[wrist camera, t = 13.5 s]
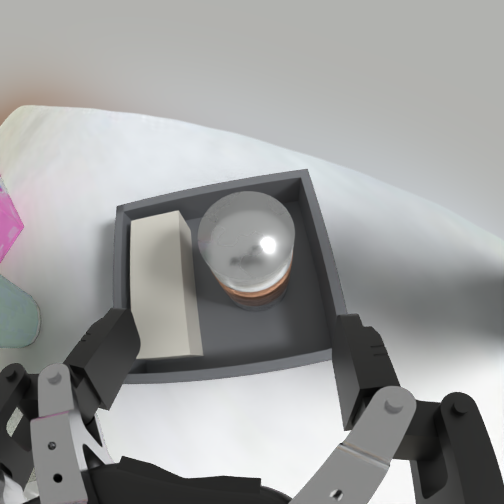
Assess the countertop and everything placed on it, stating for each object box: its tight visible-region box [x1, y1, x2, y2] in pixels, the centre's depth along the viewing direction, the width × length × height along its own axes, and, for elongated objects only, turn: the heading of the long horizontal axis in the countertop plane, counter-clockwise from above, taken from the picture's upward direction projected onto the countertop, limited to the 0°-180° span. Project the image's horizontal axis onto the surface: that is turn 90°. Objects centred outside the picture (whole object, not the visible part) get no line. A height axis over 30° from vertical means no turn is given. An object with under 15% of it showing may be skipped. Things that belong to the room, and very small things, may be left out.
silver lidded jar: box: [198, 191, 295, 312], centre depth 21 cm, size 6×6×10 cm
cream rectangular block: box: [130, 210, 203, 360], centre depth 24 cm, size 5×12×4 cm, turn 9°
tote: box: [113, 169, 347, 384], centre depth 24 cm, size 18×16×5 cm
